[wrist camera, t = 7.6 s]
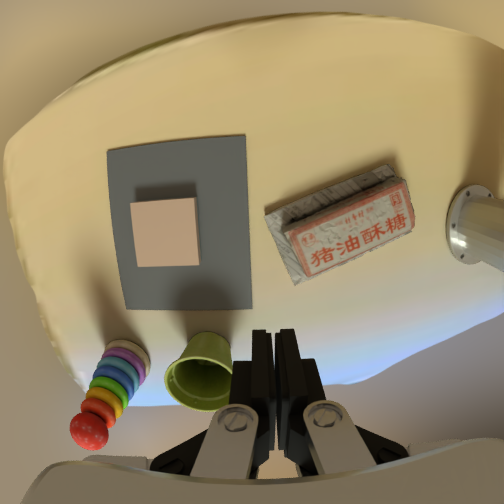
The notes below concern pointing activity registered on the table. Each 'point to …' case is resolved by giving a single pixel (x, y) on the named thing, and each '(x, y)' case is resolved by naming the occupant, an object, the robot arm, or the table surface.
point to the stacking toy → (109, 392)
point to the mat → (209, 214)
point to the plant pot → (202, 373)
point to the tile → (166, 232)
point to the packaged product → (341, 222)
